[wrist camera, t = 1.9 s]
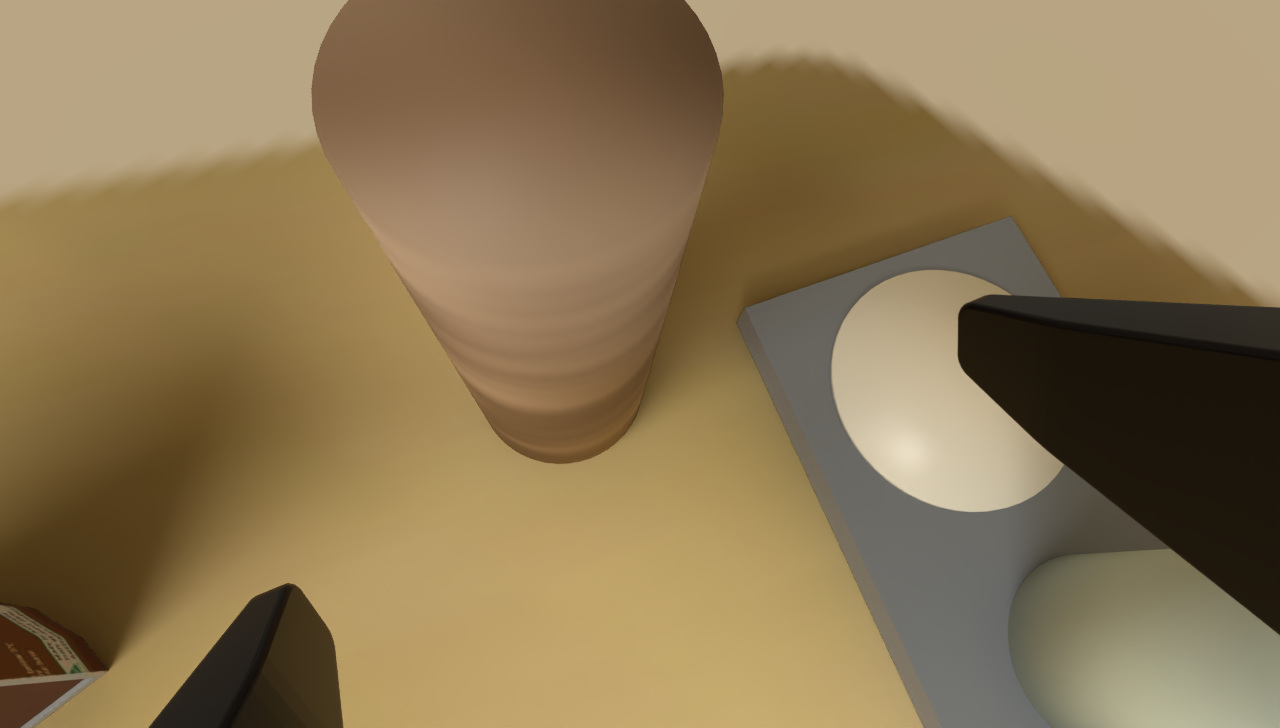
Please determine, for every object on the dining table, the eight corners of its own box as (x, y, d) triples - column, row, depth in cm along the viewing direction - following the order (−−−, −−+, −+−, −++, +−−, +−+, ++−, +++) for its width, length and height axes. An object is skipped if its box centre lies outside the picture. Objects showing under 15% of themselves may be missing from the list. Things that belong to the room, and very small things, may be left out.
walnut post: (666, 429, 20) (788, 190, 8) (509, 488, 19) (372, 321, 7) (608, 289, 22) (637, -102, 9) (459, 338, 21) (270, -24, 8)
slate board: (1465, 1017, 17) (1540, 1054, 16) (1160, 1238, 15) (1216, 1302, 14) (990, 233, 23) (1015, 212, 22) (736, 322, 21) (745, 305, 20)
